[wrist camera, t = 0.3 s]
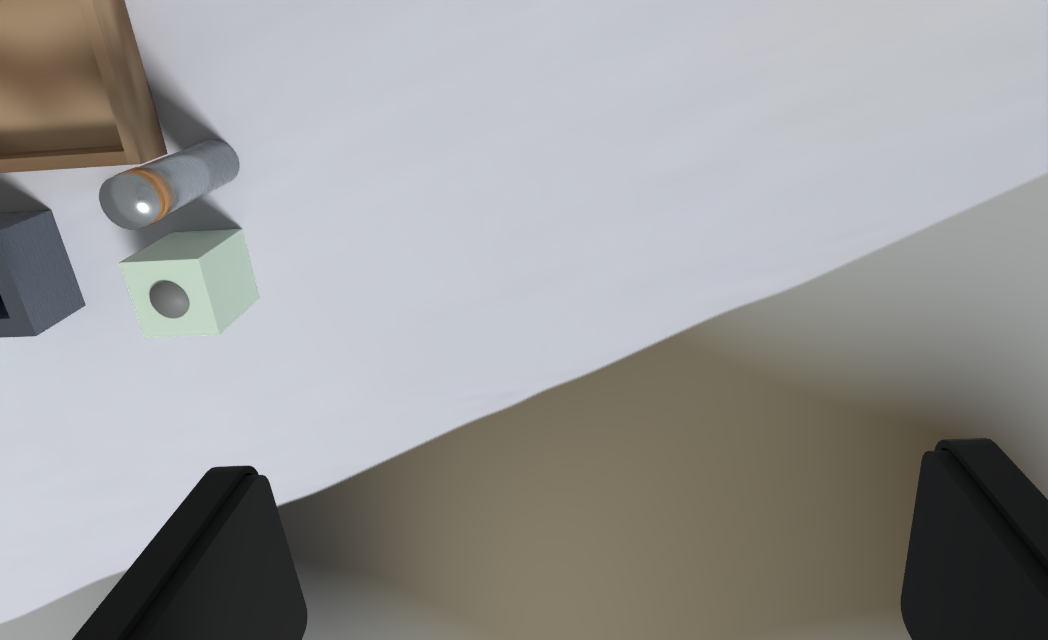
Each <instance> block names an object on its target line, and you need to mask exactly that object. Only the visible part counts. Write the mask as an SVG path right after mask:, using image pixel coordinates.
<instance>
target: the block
mask: <svg viewBox="0 0 1048 640" xmlns="http://www.w3.org/2000/svg"><path fill="white" fill-rule="evenodd" d="M84 306H85V303H84V300H83V297H82V294H81V292H80V289H79V286H78V283H77V281H76V278H75V275H74V272H73V270H72V267H71V264H70V261H69V259H68V256H67V253H66V250H65V247H64V245H63V242H62V239H61V236H60V234H59V231H58V228H57V225H56V223H55V220H54V217H53V214H52V212H51V210H43V211H26V212H9V213H0V337H24V336H37V335H39V334H40V333H42V332H44V331H45V330H47V329H48V328H50V327H52V326H53V325H55V324H56V323H58V322H60V321H61V320H63V319H64V318H66V317H68V316H69V315H71V314H72V313H74V312H76V311H77V310H79V309H81V308H82V307H84Z"/></svg>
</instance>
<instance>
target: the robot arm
mask: <svg viewBox="0 0 1048 640" xmlns="http://www.w3.org/2000/svg"><path fill="white" fill-rule="evenodd" d="M901 612H902V616H903V620H904V624H905V626H906V628H907V631H908V633H909V634H910V636H911V638H912V640H1048V500H1047V499H1046V498H1045V496H1044V495H1043V494H1042V493H1041V492H1040V491H1039V490H1038V489H1037V488H1036V487H1035V485H1034V484H1032V482H1031V481H1030V480H1029V479H1028V478H1027V477H1026V476H1025V475H1024V474H1023V473H1022V471H1021V470H1020V469H1019V468H1018V467H1017V466H1016V465H1015V464H1014V463H1013V462H1012V461H1011V460H1010V459H1009V457H1008V456H1007V455H1006V454H1005V453H1004V452H1003V451H1002V450H1001V449H1000V448H999V447H998V445H997V444H995V443H994V442H993V441H992V440H991V439H987V438H976V439H975V438H974V439H947V440H941V441H939V442H938V444H937V445H936V447H935V451H927V452H925V453H924V455H923V458H922V461H921V469H920V475H919V482H918V488H917V495H916V501H915V508H914V514H913V521H912V528H911V534H910V541H909V548H908V554H907V561H906V569H905V574H904V581H903V587H902V594H901ZM306 625H307V608H306V604H305V600H304V597H303V594H302V590H301V587H300V583H299V580H298V577H297V573H296V570H295V567H294V563H293V560H292V557H291V553H290V550H289V547H288V544H287V540H286V537H285V533H284V530H283V526H282V523H281V520H280V516H279V513H278V510H277V506H276V503H275V500H274V496H273V493H272V490H271V486H270V483H269V481H268V479H267V478H266V476H264V475H258V472H257V471H256V469H255V468H254V467H252V466H227V467H214V468H211V469H210V470H209V471H207V472H206V474H205V475H204V476H203V477H202V479H201V480H200V481H199V482H198V484H197V485H196V486H195V487H194V488H193V490H192V491H191V492H190V493H189V495H188V496H187V497H186V498H185V500H184V501H183V502H182V503H181V505H180V506H179V507H178V508H177V510H176V511H175V512H174V513H173V515H172V516H171V517H170V518H169V520H168V521H167V522H166V523H165V525H164V526H163V527H162V528H161V529H160V531H159V532H158V533H157V534H156V536H155V537H154V538H153V539H152V541H151V542H150V543H149V544H148V546H147V547H146V548H145V549H144V551H143V552H142V553H141V554H140V556H139V557H138V558H137V559H136V561H135V562H134V563H133V564H132V566H131V567H130V568H129V569H128V571H127V572H126V573H125V574H124V576H123V577H122V578H121V579H120V581H119V582H118V583H117V584H116V585H115V587H114V588H113V589H112V591H111V592H110V593H109V594H108V595H107V597H106V598H105V599H104V600H103V602H102V603H101V604H100V605H99V607H98V608H97V609H96V611H95V612H94V613H93V614H92V615H91V617H90V618H89V619H88V620H87V621H86V623H85V624H84V625H83V626H82V628H81V629H80V630H79V631H78V633H77V634H76V635H75V636H74V638H73V639H72V640H302V638H303V635H304V632H305V629H306Z"/></svg>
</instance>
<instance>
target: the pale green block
mask: <svg viewBox="0 0 1048 640" xmlns="http://www.w3.org/2000/svg"><path fill="white" fill-rule="evenodd" d="M119 264H120V267H121V270H122V273H123V276H124V280H125V283H126V286H127V289H128V292H129V295H130V298H131V301H132V304H133V307H134V310H135V313H136V316H137V319H138V322H139V325H140V328H141V331H142V334H143V337H144V338H155V337H182V336H209V335H220V334H221V333H222V332H223V331H225V330H226V329H227V328H228V327H229V326H230V325H231V324H232V323H233V322H234V321H235V320H236V319H237V318H239V317H240V316H241V315H242V314H243V313H244V312H245V311H246V310H247V309H248V308H249V307H250V306H251V305H252V304H254V303H255V302H256V301H257V300H258V299H259V298H260V297H259V293H258V289H257V285H256V281H255V277H254V273H253V269H252V265H251V261H250V257H249V253H248V249H247V245H246V241H245V237H244V233H243V229H225V230H207V231H188V232H171V233H170V234H168V235H166V236H165V237H163V238H161V239H159V240H158V241H156V242H154V243H152V244H151V245H149V246H147V247H145V248H144V249H142V250H140V251H138V252H137V253H135V254H133V255H132V256H130V257H128V258H126V259H125V260H123V261H121V262H119Z"/></svg>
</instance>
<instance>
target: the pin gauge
mask: <svg viewBox="0 0 1048 640" xmlns="http://www.w3.org/2000/svg"><path fill="white" fill-rule="evenodd" d="M238 171H239V160H238V157H237V154H236V153H235V151H234V150H233V149H232V148H231V147H230V146H229V145H228V144H227V143H225V142H223V141H220V140H215V139H212V140H207V141H205V142H202V143H199V144H197V145H194V146H192V147H189V148H186V149H184V150H181V151H179V152H176V153H174V154H171V155H168V156H166V157H163V158H161V159H158V160H155V161H153V162H150V163H148V164H145V165H143V166H140V167H135V168H132V169H129V170H127V171H124V172H122V173H119V174H117V175H115V176H114V177H112V178H109V179H108V180H106V181H105V182H104V183H103V185H102V186H101V188H100V192H99V200H100V204H101V207H102V209H103V211H104V213H105V214H106V216H107V217H108V218H109V219H110V220H111V221H112V222H113V223H115V224H116V225H118V226H120V227H122V228H125V229H130V230H136V229H140V228H143V227H145V226H148V225H150V224H153V223H154V222H156V221H158V220H160V219H162V218H164V217H165V216H167V215H168V214H169V213H171V212H173V211H175V210H177V209H179V208H181V207H183V206H185V205H186V204H188V203H190V202H192V201H194V200H196V199H198V198H200V197H202V196H203V195H205V194H207V193H209V192H211V191H213V190H215V189H217V188H219V187H221V186H222V185H224V184H226V183H228V182H230V181H232V180H233V179H234V178H235V177H236V176H237V174H238Z"/></svg>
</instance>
